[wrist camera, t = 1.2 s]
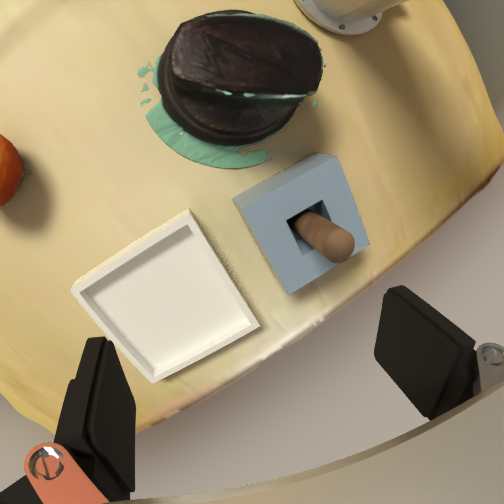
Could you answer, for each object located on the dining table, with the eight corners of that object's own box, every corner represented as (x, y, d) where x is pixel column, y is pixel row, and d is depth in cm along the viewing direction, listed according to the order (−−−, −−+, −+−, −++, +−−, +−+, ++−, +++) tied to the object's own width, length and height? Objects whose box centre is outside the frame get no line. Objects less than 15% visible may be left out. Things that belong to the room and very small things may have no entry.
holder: (316, 152, 35) (336, 155, 31) (348, 231, 40) (370, 244, 35) (231, 198, 35) (241, 208, 30) (274, 276, 39) (288, 295, 35)
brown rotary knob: (313, 7, 29) (352, -21, 21) (319, 162, 36) (361, 172, 28) (140, 3, 25) (132, -36, 17) (143, 173, 32) (132, 186, 24)
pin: (304, 200, 36) (348, 223, 27) (314, 222, 37) (359, 252, 28) (281, 213, 36) (319, 241, 27) (292, 235, 37) (331, 269, 28)
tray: (188, 208, 34) (190, 213, 32) (255, 315, 41) (260, 326, 38) (75, 281, 34) (69, 290, 31) (152, 371, 40) (152, 383, 38)
